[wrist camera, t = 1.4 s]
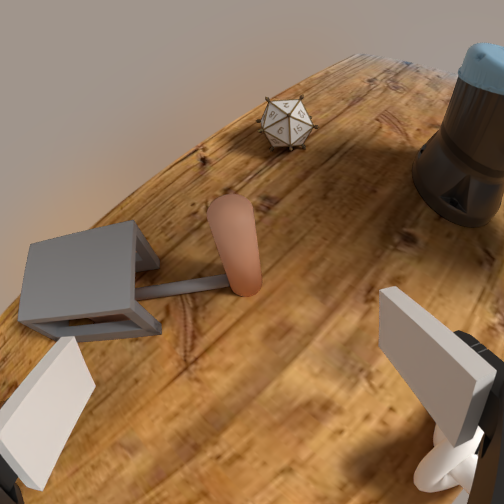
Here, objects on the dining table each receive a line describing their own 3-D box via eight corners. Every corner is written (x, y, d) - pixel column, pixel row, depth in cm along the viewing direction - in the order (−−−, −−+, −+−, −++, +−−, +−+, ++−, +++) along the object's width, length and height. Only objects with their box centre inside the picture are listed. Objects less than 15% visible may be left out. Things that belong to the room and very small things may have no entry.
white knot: (508, 440, 23) (557, 436, 15) (442, 520, 20) (483, 538, 12) (461, 383, 28) (507, 367, 20) (387, 463, 25) (423, 475, 17)
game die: (273, 161, 50) (234, 113, 45) (312, 128, 49) (276, 79, 44) (296, 175, 42) (250, 118, 37) (341, 136, 41) (301, 78, 36)
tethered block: (258, 259, 37) (248, 184, 26) (265, 299, 35) (258, 235, 24) (98, 285, 37) (39, 229, 26) (96, 323, 35) (30, 276, 24)
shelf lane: (159, 259, 38) (133, 219, 31) (161, 334, 34) (130, 307, 26) (66, 276, 38) (30, 244, 31) (60, 343, 34) (17, 320, 26)
